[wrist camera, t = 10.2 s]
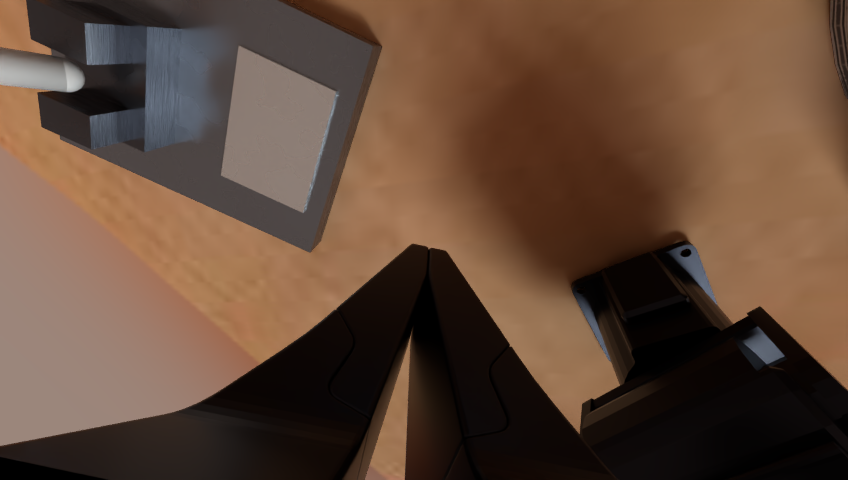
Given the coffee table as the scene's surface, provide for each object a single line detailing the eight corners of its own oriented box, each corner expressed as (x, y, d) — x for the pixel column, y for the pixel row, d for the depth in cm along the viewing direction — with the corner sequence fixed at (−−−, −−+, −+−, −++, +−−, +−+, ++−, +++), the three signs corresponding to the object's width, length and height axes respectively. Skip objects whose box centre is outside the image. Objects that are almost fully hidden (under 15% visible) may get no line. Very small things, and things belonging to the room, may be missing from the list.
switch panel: (382, 46, 18) (340, 45, 13) (320, 241, 24) (275, 290, 19) (70, -104, 17) (-95, -164, 12) (84, 134, 23) (-24, 156, 18)
